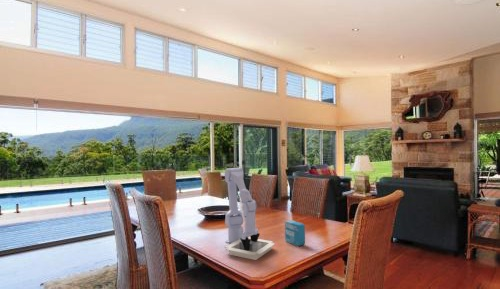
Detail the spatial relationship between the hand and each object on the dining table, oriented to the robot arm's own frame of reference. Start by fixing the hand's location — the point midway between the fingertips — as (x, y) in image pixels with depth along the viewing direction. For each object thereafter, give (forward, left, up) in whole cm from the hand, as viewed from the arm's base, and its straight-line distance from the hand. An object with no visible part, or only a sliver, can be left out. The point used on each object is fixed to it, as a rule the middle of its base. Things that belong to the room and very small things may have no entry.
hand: (250, 249), depth 154 cm
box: (0, 0, -2) cm, 2 cm away
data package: (-24, +16, -2) cm, 29 cm away
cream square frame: (0, 0, -1) cm, 1 cm away
